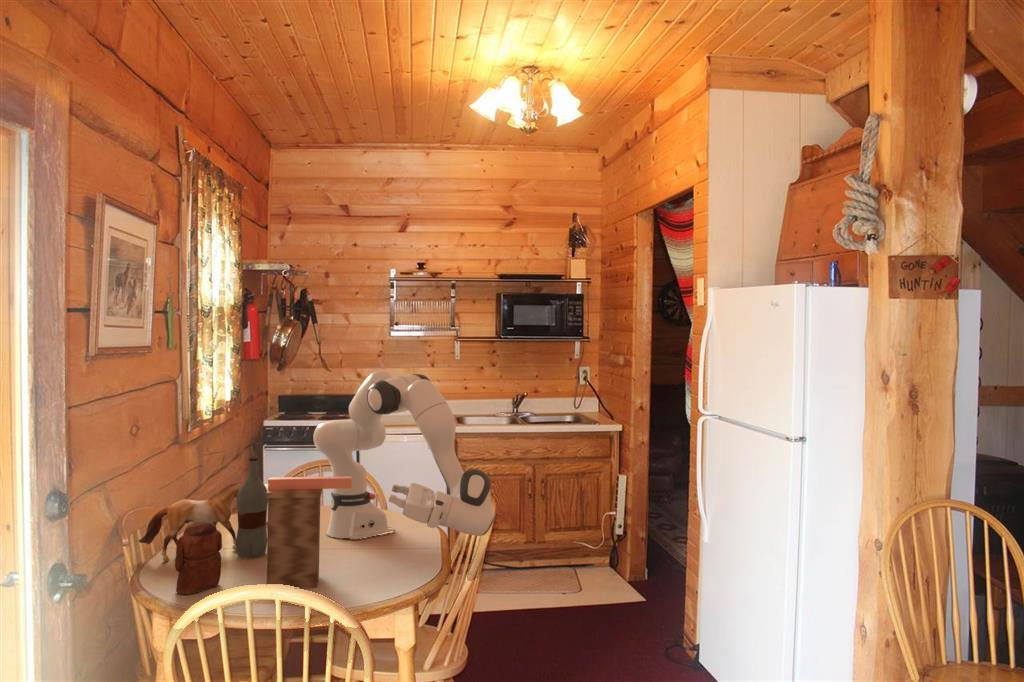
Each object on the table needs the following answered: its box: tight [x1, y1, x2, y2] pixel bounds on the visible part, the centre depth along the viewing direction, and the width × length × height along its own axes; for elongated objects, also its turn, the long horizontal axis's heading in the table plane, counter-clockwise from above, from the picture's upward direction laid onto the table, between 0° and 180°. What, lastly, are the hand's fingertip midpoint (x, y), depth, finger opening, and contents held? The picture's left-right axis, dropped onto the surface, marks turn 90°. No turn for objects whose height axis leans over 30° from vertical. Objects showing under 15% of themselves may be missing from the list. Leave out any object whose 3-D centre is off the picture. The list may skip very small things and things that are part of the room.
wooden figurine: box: [174, 520, 223, 595], centre depth 198 cm, size 12×6×18 cm, turn 152°
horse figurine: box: [138, 482, 244, 562], centre depth 227 cm, size 31×8×21 cm, turn 123°
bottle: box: [236, 455, 268, 560], centre depth 228 cm, size 9×9×30 cm
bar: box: [267, 476, 352, 490], centre depth 205 cm, size 22×3×3 cm, turn 101°
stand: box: [266, 489, 324, 589], centre depth 204 cm, size 14×10×26 cm
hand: (390, 492), depth 209 cm, fingers open, 8 cm apart
